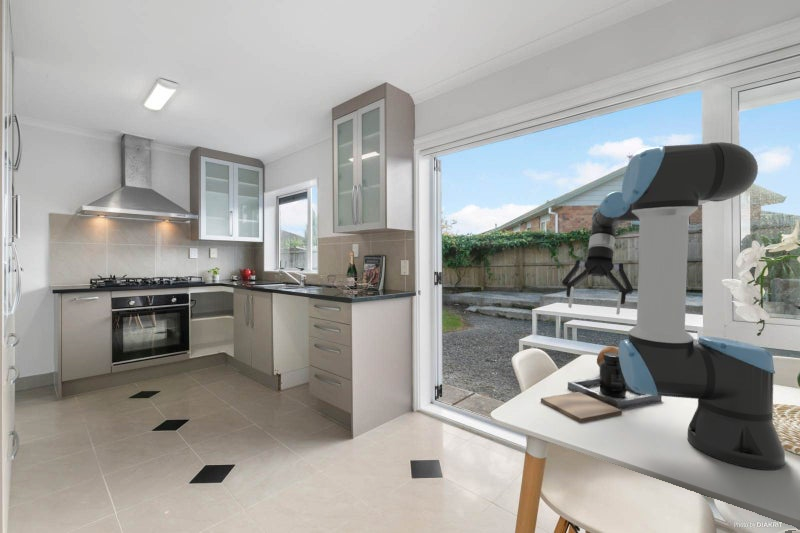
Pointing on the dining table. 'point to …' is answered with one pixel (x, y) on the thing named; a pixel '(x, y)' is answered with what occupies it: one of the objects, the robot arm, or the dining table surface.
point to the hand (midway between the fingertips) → (593, 309)
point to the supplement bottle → (612, 377)
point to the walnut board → (581, 406)
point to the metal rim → (620, 404)
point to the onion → (606, 350)
